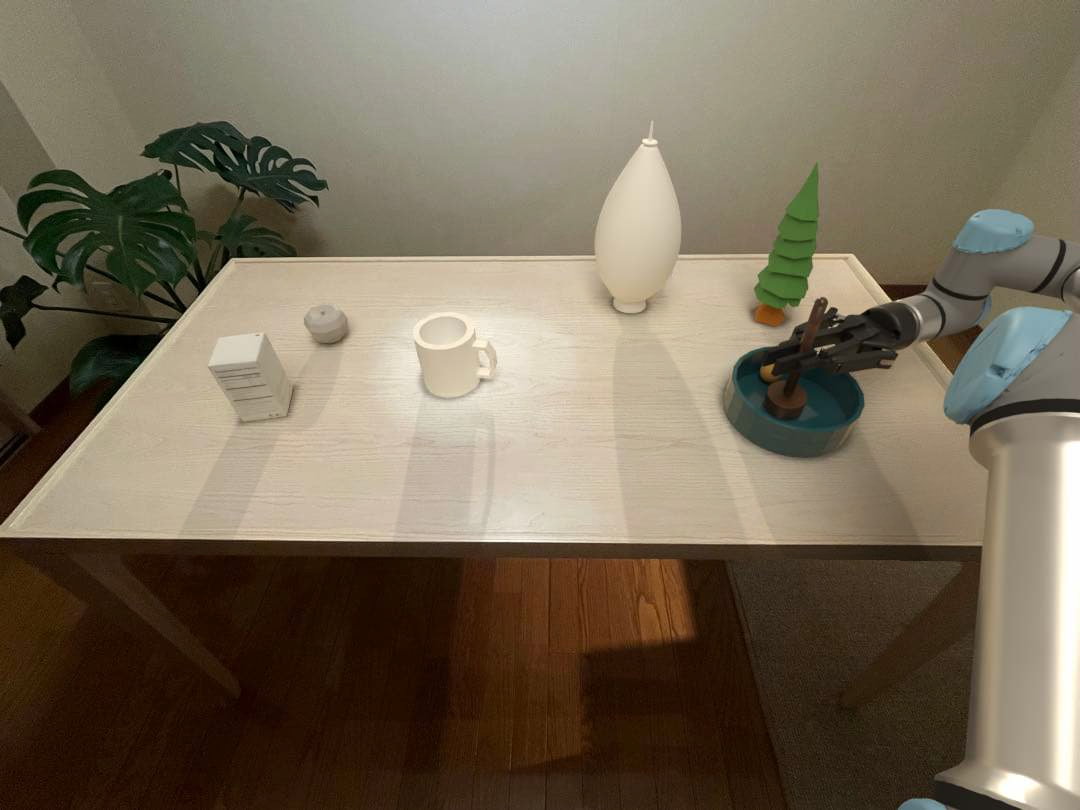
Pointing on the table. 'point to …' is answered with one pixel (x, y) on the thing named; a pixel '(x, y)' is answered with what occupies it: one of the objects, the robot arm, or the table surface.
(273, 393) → the white packaging box
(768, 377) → the dough ball
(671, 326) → the table surface
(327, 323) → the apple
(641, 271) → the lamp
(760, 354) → the bowl
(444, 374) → the mug
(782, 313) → the decorative tree
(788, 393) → the wooden peg stand
